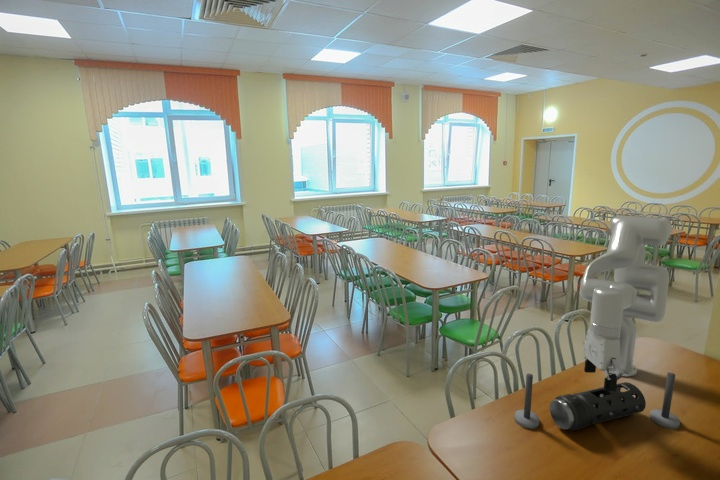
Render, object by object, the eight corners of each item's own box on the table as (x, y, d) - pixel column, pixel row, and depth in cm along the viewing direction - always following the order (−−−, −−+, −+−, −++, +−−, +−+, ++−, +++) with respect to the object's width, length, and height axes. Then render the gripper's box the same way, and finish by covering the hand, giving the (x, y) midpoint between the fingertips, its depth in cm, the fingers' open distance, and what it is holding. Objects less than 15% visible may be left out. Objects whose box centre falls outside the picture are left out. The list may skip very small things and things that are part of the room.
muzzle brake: (644, 422, 111) (648, 392, 109) (570, 442, 104) (573, 410, 102) (615, 403, 120) (619, 375, 118) (546, 420, 113) (548, 391, 111)
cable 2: (644, 413, 114) (650, 367, 111) (667, 413, 114) (673, 367, 111) (661, 428, 108) (668, 380, 104) (685, 428, 107) (693, 380, 104)
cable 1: (511, 413, 116) (513, 368, 113) (533, 413, 116) (536, 368, 113) (519, 429, 109) (522, 381, 106) (543, 429, 109) (546, 381, 106)
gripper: (575, 317, 114) (571, 365, 118) (610, 342, 97) (604, 398, 101) (599, 316, 114) (594, 365, 117) (639, 342, 97) (631, 398, 100)
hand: (599, 380), depth 109 cm, fingers open, 9 cm apart
